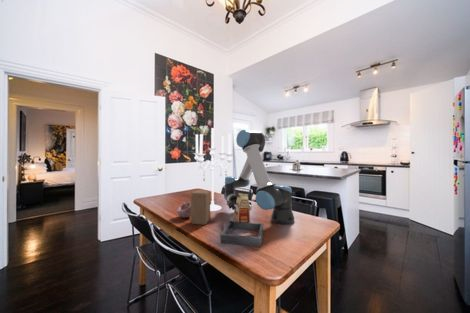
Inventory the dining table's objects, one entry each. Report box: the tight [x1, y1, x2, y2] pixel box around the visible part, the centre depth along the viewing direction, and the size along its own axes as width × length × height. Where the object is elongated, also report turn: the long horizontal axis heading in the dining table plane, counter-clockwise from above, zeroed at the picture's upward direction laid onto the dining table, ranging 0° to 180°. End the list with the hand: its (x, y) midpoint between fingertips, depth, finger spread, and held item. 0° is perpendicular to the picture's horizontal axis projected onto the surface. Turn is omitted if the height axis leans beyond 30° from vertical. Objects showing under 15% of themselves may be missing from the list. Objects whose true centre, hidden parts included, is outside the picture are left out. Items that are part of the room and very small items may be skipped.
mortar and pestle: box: [176, 200, 191, 219], centre depth 134 cm, size 12×12×12 cm
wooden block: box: [190, 189, 211, 226], centre depth 125 cm, size 10×10×20 cm
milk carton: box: [232, 192, 251, 223], centre depth 121 cm, size 9×9×20 cm
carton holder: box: [220, 220, 265, 248], centre depth 104 cm, size 20×20×4 cm
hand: (244, 208), depth 116 cm, fingers closed on milk carton, 8 cm apart
